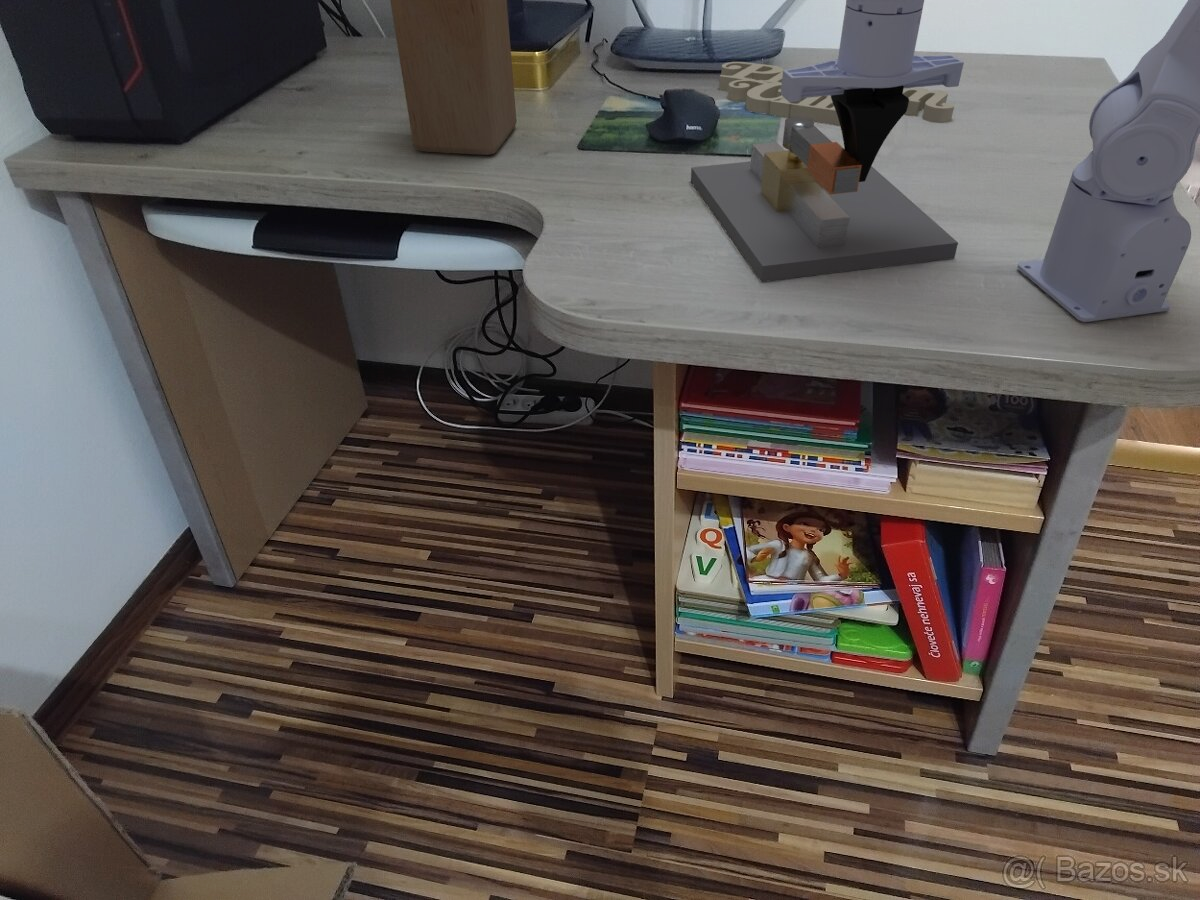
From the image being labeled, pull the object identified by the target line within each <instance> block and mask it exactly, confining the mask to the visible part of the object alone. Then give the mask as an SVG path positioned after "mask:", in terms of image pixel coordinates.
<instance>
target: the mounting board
mask: <svg viewBox="0 0 1200 900" xmlns="http://www.w3.org/2000/svg"><path fill="white" fill-rule="evenodd" d="M750 165H751V160H750V161H741V162H732V163H730V162H729V163H721V164H712V165H702V166H693V167H692V166H691V168H690V182H691V184H692V185H693V186H694V188H695V190H696V191H697V192H698V194H699V195H700V197H701V198H702V200H703V201H704V202H705V204H706V206H707V207H708V208H709V209H710V211H711V212H712V214H713V215H714V217H715V218H716V220H717V221H718V223H719V224H720V226H721V227H722V228H723V230H724V231H725V232H726V234H727V236H728V237H729V238H730V239H731V241H732V242H733V244H734V246H735V247H736V249H738V251H739V252H740V254H741V256H743V258H744V259H745V261H746V262H747V264H748V265H749V267H750V268H751V270H752V272H754V274H755V275H756V277H757V278H758V280H759V281H760V282H761V283H763V282H769V281H779V280H780V281H781V280H787V279H788V280H789V279H797V278H804V277H811V276H819V275H825V274H826V275H827V274H835V273H845V272H852V271H860V270H861V271H862V270H867V269H868V270H869V269H876V268H877V269H878V268H884V267H894V266H900V265H908V264H917V263H924V262H925V263H926V262H934V261H943V260H950V259H955V255H956V253H957V248H958V245H959V242H958V241H957V240H956V239H955V238H954V237H953V236H951V235H950V234H949V233H948V232H947V231H946V230H945V229H944V228H942V227H941V226H940V225H939V224H938V223H937V222H936V221H935V220H933V218H931V217H930V216H929V215H928V214H926V213H925V212H924V211H923V210H922V209H921V208H920V207H918V206H917V205H916V204H915V203H914V202H913V201H912V200H911V199H910V198H908V197H907V196H906V195H905V194H904V193H902V192H901V191H900V190H899V189H898V187H896V186H895V185H894V184H893V183H891V181H889V180H888V179H887V178H886V177H885V176H884V175H882V174H881V172H879V171H878V170H877V169H876V168H874V167H873V166H871V168H870V170H869V173H868V175H867V178H866V180H865V181H864V182H859V184H858V190H857V192H849V193H840V194H831V195H830V194H829V193H828V192H827V191H826V190H825V189H824V188H823V190H824V191H825V192H826V193H827V194H828V195H829V196H830V197H831V198H832V199H833V200H834V201H835V202H836V203H837V204H838V206H839V207H840V208H841V209H842V210H843V211H844V212H845V213H846V214H847V215H848V216H849V217H850V218H849V224H848V230H847V236H846V242H845V245H839V246H830V247H822V248H817V247H816V246H815V245H814V244H813V243H812V241H811V240H810V239H809V238H808V237H807V236H806V234H805V233H804V232H803V231H802V230H801V229H800V227H799V226H798V225H797V224H796V223H795V221H794V220H793V219H792V218H791V217H790V216H789V214H788V213H787V212H786V211H779V212H776V211H775V210H774V208H773V207H772V206H771V205H770V204H769V202H768V201H767V200H766V199H765V198H764V196H763V195H762V194H761V184H762V183H761V182H760V180H759V179H758V178H757V177H756V176H755V174H754V173H753V172H752V171H751V170H750Z"/></svg>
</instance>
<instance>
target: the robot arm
mask: <svg viewBox="0 0 1200 900" xmlns="http://www.w3.org/2000/svg"><path fill="white" fill-rule="evenodd" d="M924 5H925V0H845V8H844V9H845V10H844V15H843V21H842V22H843V23H842V29H841V37H840V41H839V49H838V57H837V59H832V60H828V61H825V62H820V63H816V64H811V65H807V66H803V67H797V68H790V69H784V70H783V76H782V86H781V95H782V96H783V97H784V98H785V99H786V100H787V101H789V102H798V101H801V98H808V97H819V96H830V95H831V99H832V102H833V104H834V107H835V110H836V113H837V116H838V119H839V123H840V126H839V127H840V130H841V135H842V141H843V148H844V149H845V150H846V151H847V152H848V153H849V154H850V155H852V156H853V157H854V158H855V159H856V160H857V161H858V162H859V163H860V164H861V165H862V166H861V172H860V178H859V182H864V181H865V180H866V178H867V175H868V173H869V170H870V168H871V166H872V165H873V164H874V161H875V160H876V157H877V155H878V154H879V151H880V150H881V147H882V146H883V144H884V142H885V140H887V137H888V136H889V134H890V133H891V131H892V130H893V129H894V128H895V126H896V124H898V122H899V121H900V120H901V119H902V117H904V114H905V113H906V111H907V108H908V104H909V98H908V97H906V96H905V95H903V89H904V88H923V87H934V86H942V85H943V86H944V87H945V88H955V87H959V85H960V81H961V78H962V73H963V68H964V64H965V62H964V61H963V60H962V59H959V58H958V57H956V56H954V55H953V54H948V55H946V54H945V55H915V51H916V47H917V40H918V35H919V31H920V30H919V29H920V26H921V25H920V24H921V19H922V15H923V9H924ZM1088 124H1089V125H1088V126H1089V127H1088V128H1089V135H1090V138H1091V140H1092V151H1091V152H1089V154H1088V155H1087V156H1086V157H1085V158H1084V159H1083V160H1082V161H1080V162H1079V163H1078V164H1077V165H1075V167H1074V168H1073V170H1072V173H1071V176H1070V179H1069V183H1068V185H1067V189H1066V191H1065V195H1064V198H1063V201H1062V202H1061V206H1060V209H1059V213H1058V216H1057V219H1056V222H1055V225H1054V227H1053V231H1052V232H1051V233H1052V234H1051V237H1050V240H1049V242H1048V246H1047V249H1046V252H1045V255H1044V258H1043V259H1035V260H1034V259H1033V260H1027V261H1021V262H1018V263H1017V266H1016V268H1017V269H1018V270H1019V271H1020V272H1021V273H1022V274H1023V275H1024V276H1025V277H1027V278H1028V279H1029V280H1030V281H1031V282H1033V283H1034V284H1036V286H1038V288H1040V289H1041V290H1043V292H1045V294H1047V295H1048V296H1050V298H1052V299H1053V300H1054V301H1055V302H1057V303H1058V304H1059V305H1060V306H1061V307H1063V309H1065V310H1066V311H1067V312H1069V314H1071V315H1072V316H1073V317H1075V319H1077V320H1078V321H1080V322H1082V323H1087V322H1096V321H1103V320H1111V319H1118V318H1125V317H1131V316H1138V315H1139V316H1140V315H1147V314H1153V313H1154V314H1155V313H1161V312H1162V313H1163V312H1168V311H1169V310H1170V309H1171V307H1172V306H1171V305H1172V304H1171V303H1169V302H1168V301H1166V299H1167V296H1168V294H1169V291H1170V290H1171V287H1172V286H1173V285H1172V284H1173V282H1174V280H1175V278H1176V276H1177V274H1178V272H1179V269H1180V267H1181V265H1182V262H1183V259H1184V257H1185V255H1186V253H1187V251H1188V248H1189V246H1190V244H1191V239H1192V229H1191V225H1190V223H1189V220H1187V219H1186V218H1185V217H1184V216H1183V215H1182V214H1181V213H1180V211H1179V210H1178V208H1177V206H1176V204H1175V199H1174V193H1175V191H1176V187H1177V184H1178V183H1180V181H1181V180H1182V179H1183V178H1184V177H1185V176H1186V174H1187V173H1188V171H1189V169H1190V168H1191V166H1192V163H1193V160H1194V156H1195V150H1196V144H1197V141H1198V139H1199V135H1200V0H1187V1H1186V3H1185V4H1184V6H1183V7H1182V9H1181V10H1180V12H1179V13H1178V15H1177V16H1176V18H1175V19H1174V21H1173V22H1172V24H1171V25H1170V26H1169V28H1168V30H1167V32H1166V33H1165V34H1164V35H1163V37H1162V38H1161V39H1160V40H1159V41H1158V42H1157V43H1156V44H1154V46H1153V47H1151V48H1150V49H1149V50H1148V51H1147V52H1146V53H1144V55H1143V56H1141V57H1140V59H1139V61H1138V62H1137V64H1136V66H1135V67H1134V68H1133V70H1131V72H1130V73H1129V74H1128V75H1127V76H1126V78H1124V79H1123V80H1122V81H1120V82H1119V83H1116V85H1114V86H1113V87H1111V88H1110V89H1108V91H1106V92H1105V93H1104V94H1102V96H1101V97H1100V98H1099V99H1098V101H1097V102H1096V104H1095V106H1094V107H1093V109H1092V111H1091V115H1090V117H1089V123H1088ZM872 167H873V166H872Z"/></svg>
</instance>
